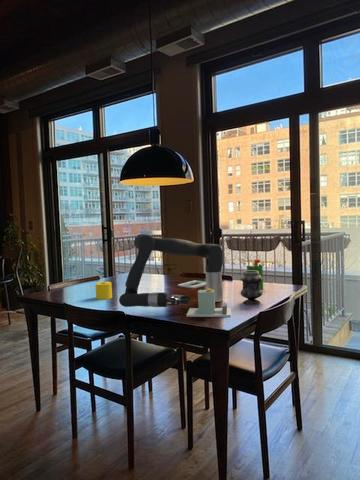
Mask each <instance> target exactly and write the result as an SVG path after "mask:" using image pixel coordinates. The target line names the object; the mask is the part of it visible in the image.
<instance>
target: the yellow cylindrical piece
mask: <svg viewBox="0 0 360 480" xmlns="http://www.w3.org/2000/svg"><path fill="white" fill-rule="evenodd" d="M112 285H113V284H112V281H99V282H95V299H96V300H101V301H102V300H110V299H112V298H113V288H112Z"/></svg>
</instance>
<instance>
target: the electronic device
mask: <svg viewBox="0 0 360 480" xmlns="http://www.w3.org/2000/svg"><path fill="white" fill-rule="evenodd" d="M205 284H206V280H205V281H202V280H195V279H194V280H191V281H190V280H189V281H187V282H183V283H179V284H178V283H177V287H181V288H187V289H197V288H201V287H205Z"/></svg>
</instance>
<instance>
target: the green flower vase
mask: <svg viewBox="0 0 360 480" xmlns="http://www.w3.org/2000/svg"><path fill="white" fill-rule="evenodd" d="M259 263H260V259H259V258H256V259H254V262H253V265H246V270H255V271H259V275H260V276H261V277H262V280H261V281H260V290H261V291H263V290H264V272H263V271H264V269H263V264H259Z"/></svg>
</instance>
